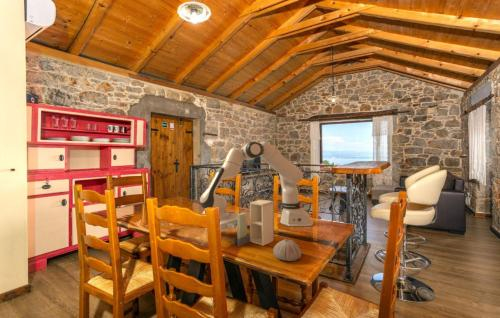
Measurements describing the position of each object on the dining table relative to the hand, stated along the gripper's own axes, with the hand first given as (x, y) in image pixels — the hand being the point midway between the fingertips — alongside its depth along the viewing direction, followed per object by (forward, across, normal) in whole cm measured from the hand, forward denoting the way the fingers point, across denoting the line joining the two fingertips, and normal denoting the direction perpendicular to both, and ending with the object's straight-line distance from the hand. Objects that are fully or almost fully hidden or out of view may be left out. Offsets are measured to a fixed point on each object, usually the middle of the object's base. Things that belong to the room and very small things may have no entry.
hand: (240, 224), depth 139 cm
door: (+1, 0, +10) cm, 10 cm away
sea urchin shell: (+30, 0, +10) cm, 31 cm away
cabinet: (+6, +4, +10) cm, 12 cm away
